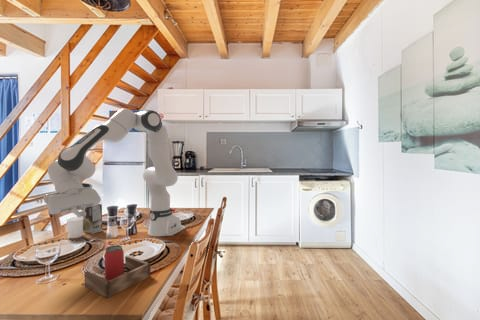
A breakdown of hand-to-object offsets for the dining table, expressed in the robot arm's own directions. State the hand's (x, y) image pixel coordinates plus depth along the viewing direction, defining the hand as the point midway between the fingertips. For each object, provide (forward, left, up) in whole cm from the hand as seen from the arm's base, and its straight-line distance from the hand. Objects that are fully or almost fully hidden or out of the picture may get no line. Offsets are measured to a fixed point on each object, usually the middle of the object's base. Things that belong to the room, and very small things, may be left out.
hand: (82, 215), depth 109 cm
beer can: (0, +23, -21) cm, 31 cm away
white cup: (-16, -39, -21) cm, 47 cm away
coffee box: (-26, -40, -21) cm, 52 cm away
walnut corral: (0, +26, -21) cm, 33 cm away
